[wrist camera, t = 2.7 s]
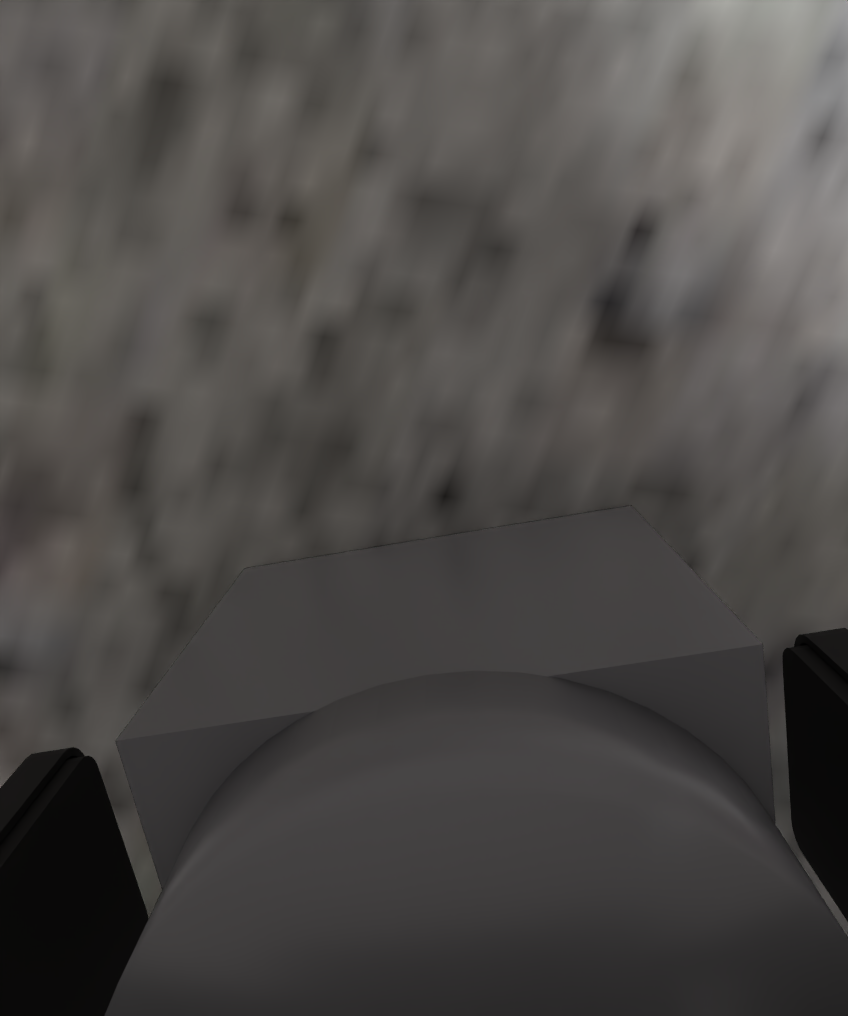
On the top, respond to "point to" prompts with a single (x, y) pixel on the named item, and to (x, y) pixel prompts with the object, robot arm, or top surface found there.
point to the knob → (472, 793)
